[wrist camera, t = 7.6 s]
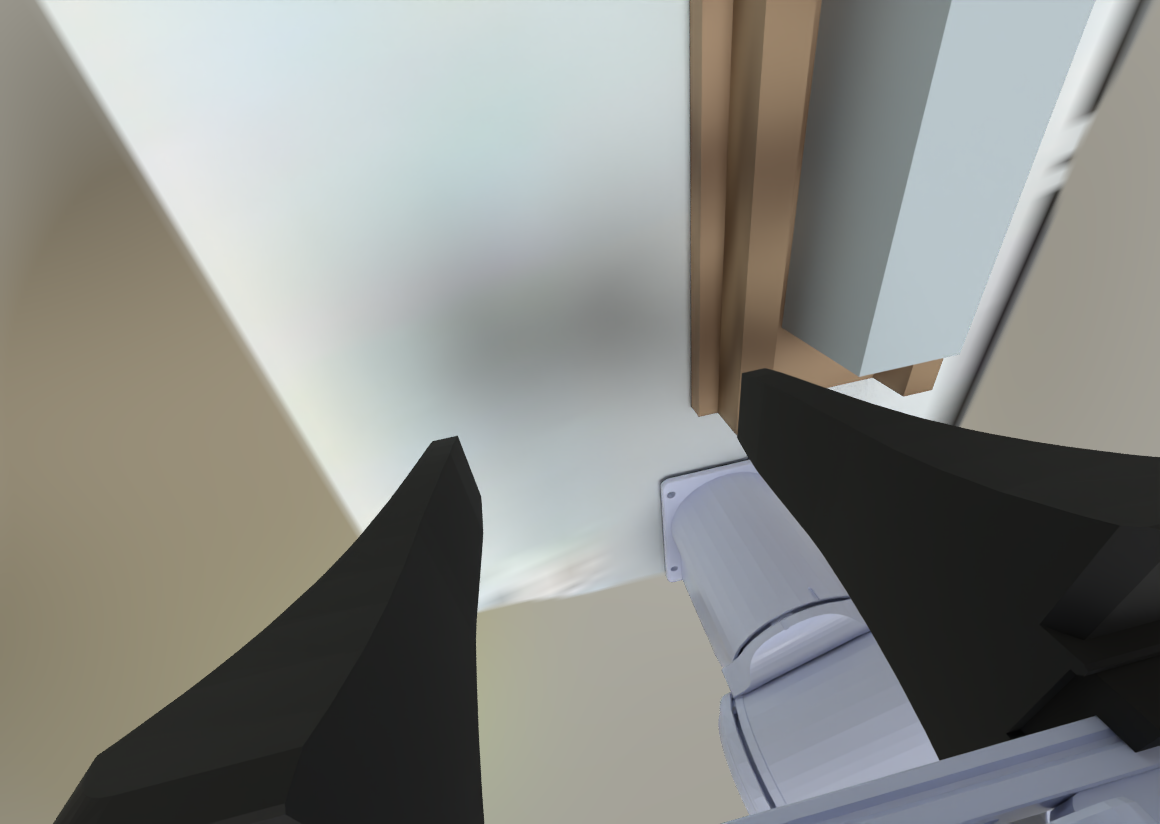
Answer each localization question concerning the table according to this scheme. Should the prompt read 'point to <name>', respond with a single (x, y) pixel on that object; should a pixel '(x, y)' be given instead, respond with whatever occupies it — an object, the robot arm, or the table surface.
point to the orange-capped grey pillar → (917, 167)
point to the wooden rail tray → (753, 200)
